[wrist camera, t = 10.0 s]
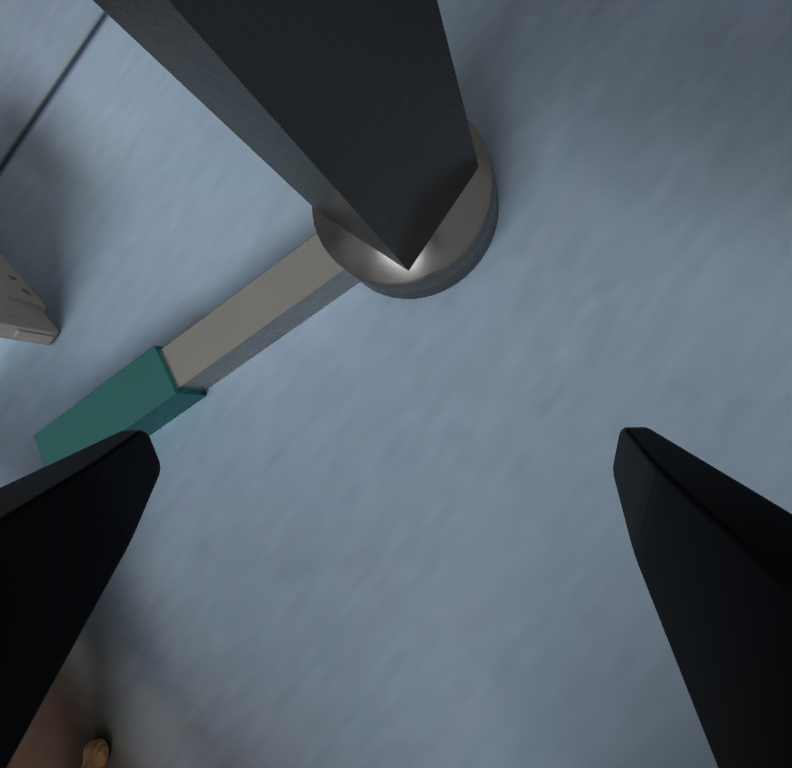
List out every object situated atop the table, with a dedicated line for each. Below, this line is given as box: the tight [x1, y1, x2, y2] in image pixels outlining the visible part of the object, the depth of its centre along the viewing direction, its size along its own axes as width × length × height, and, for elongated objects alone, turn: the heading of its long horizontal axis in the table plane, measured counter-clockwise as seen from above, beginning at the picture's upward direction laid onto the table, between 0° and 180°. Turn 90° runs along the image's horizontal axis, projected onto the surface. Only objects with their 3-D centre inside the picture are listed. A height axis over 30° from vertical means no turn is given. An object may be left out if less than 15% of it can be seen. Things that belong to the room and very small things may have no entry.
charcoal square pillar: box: [93, 0, 479, 271], centre depth 12 cm, size 4×4×13 cm
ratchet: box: [34, 120, 498, 467], centre depth 20 cm, size 7×24×5 cm, turn 121°
